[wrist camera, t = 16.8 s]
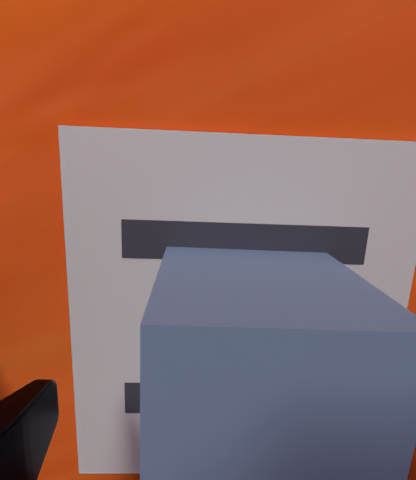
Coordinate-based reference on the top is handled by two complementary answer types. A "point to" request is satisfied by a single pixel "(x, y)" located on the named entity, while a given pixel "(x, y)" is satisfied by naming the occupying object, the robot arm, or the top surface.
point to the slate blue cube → (273, 370)
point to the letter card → (208, 238)
